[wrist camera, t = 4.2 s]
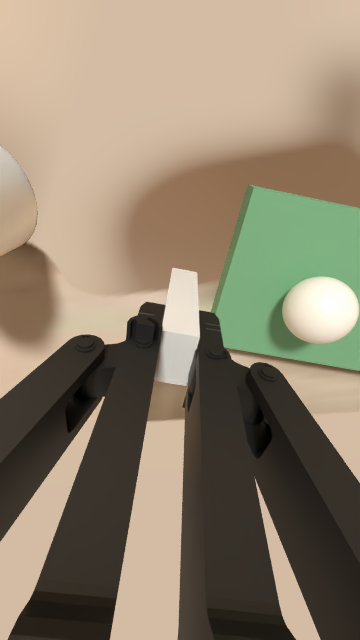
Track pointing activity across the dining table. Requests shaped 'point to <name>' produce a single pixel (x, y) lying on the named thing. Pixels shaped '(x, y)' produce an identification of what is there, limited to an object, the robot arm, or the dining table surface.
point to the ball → (320, 310)
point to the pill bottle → (15, 205)
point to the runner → (286, 273)
